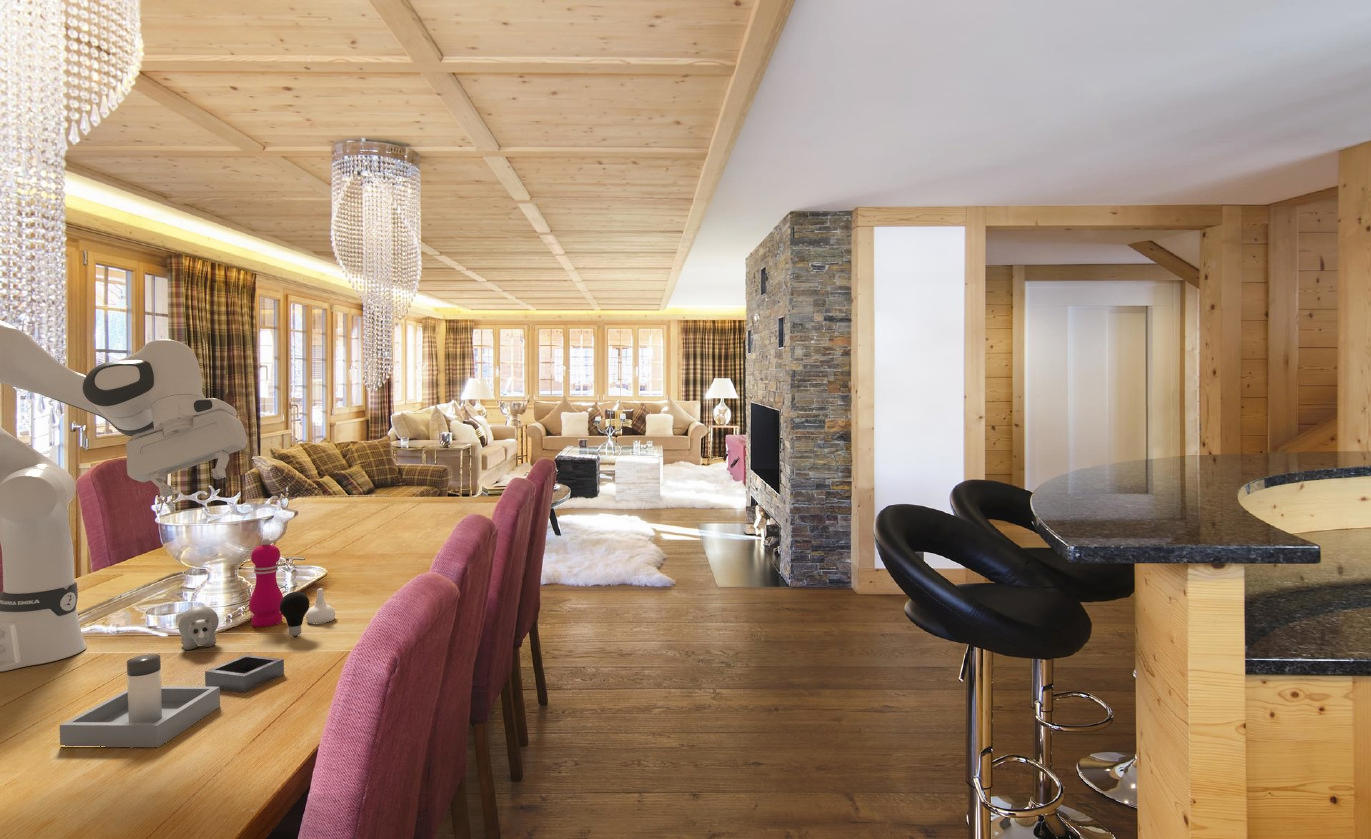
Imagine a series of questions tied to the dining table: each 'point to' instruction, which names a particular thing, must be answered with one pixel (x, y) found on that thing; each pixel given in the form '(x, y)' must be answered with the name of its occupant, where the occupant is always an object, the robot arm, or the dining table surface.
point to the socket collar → (257, 673)
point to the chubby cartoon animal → (198, 627)
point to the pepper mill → (265, 586)
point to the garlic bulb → (320, 610)
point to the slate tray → (114, 729)
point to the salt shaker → (144, 689)
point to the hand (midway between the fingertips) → (193, 486)
